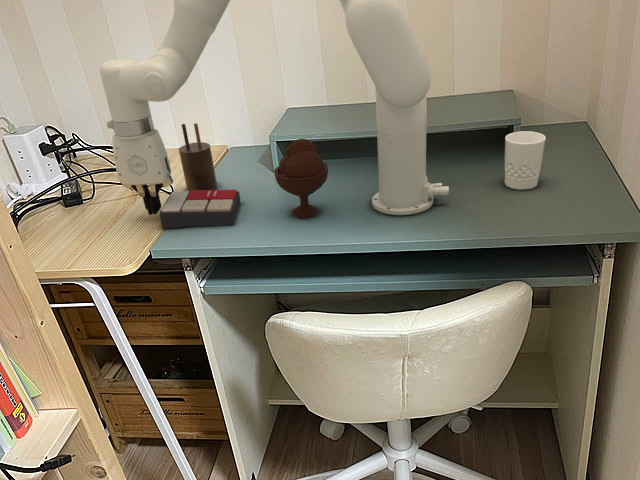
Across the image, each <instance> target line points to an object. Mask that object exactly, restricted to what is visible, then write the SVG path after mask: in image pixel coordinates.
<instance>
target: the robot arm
mask: <svg viewBox="0 0 640 480" xmlns="http://www.w3.org/2000/svg"><path fill="white" fill-rule="evenodd" d="M230 1H231V0H173V7H174V9H173V10H174V11H173V14H172V15H173V16H172V19H171V21H170V24H169V26H168V29H167V30H166V33H165V34H164V37H163V39H162V40H161V42H160V44H159V46H158V48H157V50H156V51H155V53H154V54H153V55H152V56H150V58H147V59H146V60H144V61H140V62H138V60H136V59H134V58H131V57H119V58H112V59H109V60H106V61H104V62H102V63H101V64H100V67H99V74H100V79H101V82H102V87H103V91H104V94H105V98H106V102H107V105H108V110H109V114H110V117H111V120H109V121H107V122H106V126H107V128H108V129H112V130H113V133H114V134H112V135H111V138H112V139H111V141H112V142H111V143H112V152H113V159H114V167H115V171H116V176H117V179H118V181H119V183H120V184H121V186H122V187H123V188H127V189H132V190H133V191H135V192H136V193H137V194H138V195H139V197H141V198H142V201H143V204H144V209H145V210H147V214H148V216H151V215H153V216H154V215H158V213H159V212H160V211H161V209H162V202H161V199H160V194H159V192H160V191H162V190H161V189H162V188H166V187H170V186H172V185H173V183H174V179H173V177H172V175H171V173H172V168H171V164H170V159H169V156H168V152H167V149H166V147H165V144H164V142H163V139H162V136H161V134H160V133H159V130H158V129H157V128H155V125H154V122H153V116H152V112H151V108H150V103H149V102H155V103H160V102H161V103H162V102H166V101H169V100H171V99H172V98H173V97H174V96H175V95H176V94H177V93H178V92H179V90H180V89H181V88H182V87H183V86H184V85H185V83H186V82H187V81H188V79H189V78H190V75H191V74H192V73H193V70H194V68H195V66H196V65H197V63H198V61H199V59H200V57H201V55H202V53H203V51H204V50H205V48H206V46H207V44H208V42H209V40H210V38H211V37H212V35H213V34H214V32H215V31H216V29H217V26H218V24H219V23H220V21H221V19H222V17H223V15H224V14H225V11H226V9H227V8H228V5H229V3H230ZM338 1H339V3H340V5H341V6H342V9H343V12H344V15H345V16H344V17H345V27H346V30H347V34H348V36H349V39H350V40H351V43H352V45H353V47H354V49H355V51H356V52H357V54H358V56H359V58H360V60H361V62H362V64H363V66H364V68H365V70H366V71H367V73H368V75H369V77H370V80H371V81H372V83H373V85H374V87H375V109H376V110H375V111H376V139H377V143H376V145H377V164H378V165H377V168H378V169H377V170H378V173H377V174H378V192H376V193H375V194H374V195H373V196H372V198H371V205H372V208H373V209H374V210H376V211H377V212H380V213H381V214H385V215H392V216H409V215H416V214H419V213H423V212H425V211H427V210H429V209H430V208H431V207H432V206H433V205H434V197H437V196H438V197H448V196H450V186H449V185H444V186H443V183H442V182H435V183H431V182H428V176H427V127H428V126H427V125H428V124H427V123H428V118H427V117H428V115H427V114H428V112H427V111H428V109H427V107H428V106H427V94H428V92H429V90H430V87H431V82H432V70H431V67H430V64H429V61H428V59H427V56H426V54H425V52H424V51H423V49H422V47H421V45H420V43H419V41H418V39H417V37H416V35H415V33H414V31H413V28H412V26H411V24H410V22H409V19H408V18H407V15H406V14H405V11H404V10H403V7H402V5H401V3H400V0H338ZM148 185H149V186H148Z"/></svg>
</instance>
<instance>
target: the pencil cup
mask: <svg viewBox="0 0 640 480" xmlns="http://www.w3.org/2000/svg"><path fill="white" fill-rule="evenodd" d="M193 128H194V133H195V138H196V142H190V141H189V137H188V131H187V126H186V123H181V130H182V133H183V139H184V145H182V146H180V147H179V148H178V153H179V158H180V163H181V167H182V172H183V177H184V182H185V186H186V191H189V192H191V191H192V190H218V181H217V177H216V171H215V165H214V160H213V154H212V148H211V144H209V143H208V142H202V140H201V137H200V136H201V135H200V130H199V124H198V123H197V122H195V123H193Z"/></svg>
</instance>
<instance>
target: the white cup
mask: <svg viewBox="0 0 640 480" xmlns="http://www.w3.org/2000/svg"><path fill="white" fill-rule="evenodd" d="M546 140H547V138H546V135H544V134H543V133H541V132H536V131H531V130H530V131H527V130H526V131H525V130H524V131H514V132H512V133H511V132H510V133H508V134H506V135H505V137H504V185H505V186H506V187H508V188H510V189H513V190H521V191H523V190H530V189H534V188H536V187H538V184H539V178H540V174H541V170H542V169H541V168H542V165H543V158H544V151H545V147H546V146H545V145H546Z"/></svg>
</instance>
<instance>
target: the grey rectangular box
mask: <svg viewBox="0 0 640 480" xmlns="http://www.w3.org/2000/svg"><path fill="white" fill-rule="evenodd" d="M241 204H242V203H241V193H240V191H238V190H237V189H217V190H192V191H191V192H189V191H187V190H186V191H184V190H180V191H177V190H176V191H172V192H170V193H169V195H168V197H167V199H166V201H165V202H164V204H163V206H161V208H160V210H159V212H158V213H159V218H160V223H161V228H162V229H163V230H164V229H165V230H166V229H169V230H172V229H182V228H183V227H189V226H190V227H192V226H193V227H194V226H197V227H198V226H199V227H201V226H203V227H204V226H234V224H235V223H236V219H237V217H238V213H239V210H240V207H241Z"/></svg>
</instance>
